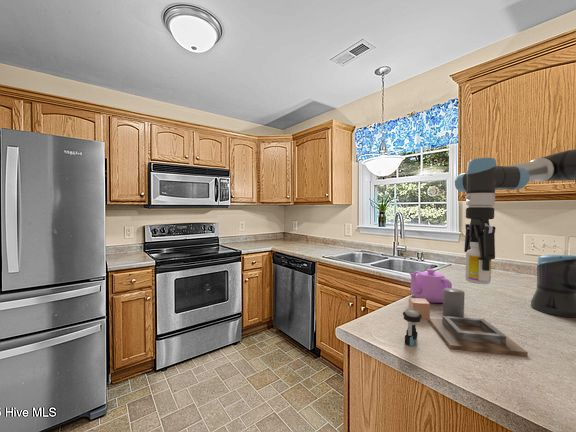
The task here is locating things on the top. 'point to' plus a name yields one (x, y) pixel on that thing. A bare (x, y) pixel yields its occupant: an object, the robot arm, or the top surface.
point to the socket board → (474, 336)
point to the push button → (411, 326)
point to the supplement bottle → (474, 264)
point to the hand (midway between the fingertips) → (477, 277)
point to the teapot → (429, 285)
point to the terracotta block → (420, 306)
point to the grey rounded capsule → (453, 302)
